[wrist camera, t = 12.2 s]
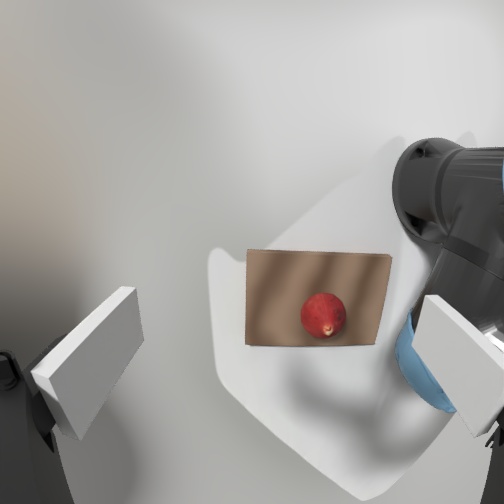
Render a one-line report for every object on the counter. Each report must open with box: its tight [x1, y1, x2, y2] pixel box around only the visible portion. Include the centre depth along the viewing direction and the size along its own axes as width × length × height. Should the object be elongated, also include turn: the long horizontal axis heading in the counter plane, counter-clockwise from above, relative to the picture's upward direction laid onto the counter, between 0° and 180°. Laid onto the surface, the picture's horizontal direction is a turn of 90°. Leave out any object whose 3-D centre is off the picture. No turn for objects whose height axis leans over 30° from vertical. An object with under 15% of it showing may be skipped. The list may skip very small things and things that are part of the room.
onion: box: [300, 293, 346, 339], centre depth 35 cm, size 6×6×8 cm
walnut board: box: [245, 249, 392, 346], centre depth 40 cm, size 20×14×2 cm
